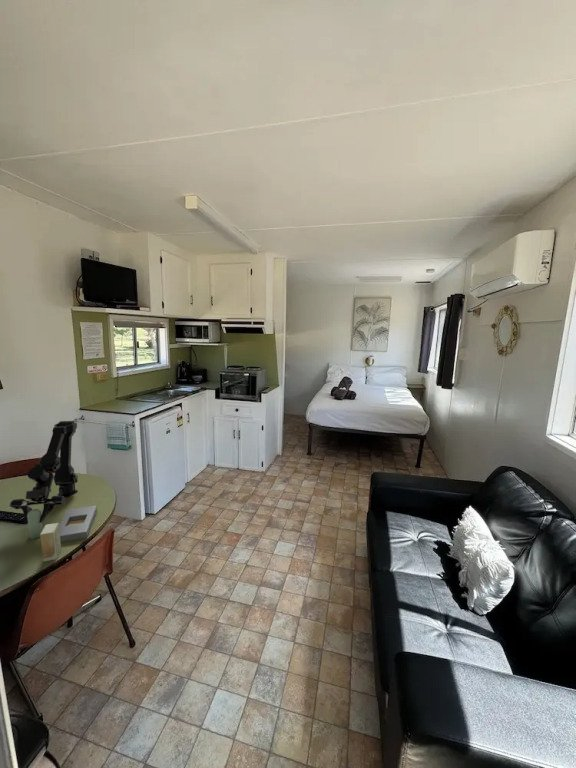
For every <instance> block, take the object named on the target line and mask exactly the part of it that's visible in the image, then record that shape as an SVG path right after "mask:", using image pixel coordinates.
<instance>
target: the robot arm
mask: <svg viewBox="0 0 576 768" xmlns="http://www.w3.org/2000/svg"><path fill="white" fill-rule="evenodd" d="M77 428H78V423H77V422H75V420H60V421H59V422H58V423H55V424H54V426H53V427H52V434H51V438H50V441H49V444H48V447H47V450H46V453H44V455H43V456H41V458H40V459H39V462H38V463H37V464H35V466H33V467H32V468H30V469H29V470H28V472H27V477H28V478H29V479H30V480H31V481H32V482H35V486H33V488H32V490H27V491H26V493H25V499H24V498H16V499H12V500H11V501H10V503H9V507H10V508H12V509H13V510H22V513H23V518H24V519H23V520H24V525H28V519H27V514H28V513H29V511H31V510H33V508H32V507H31V506H34V505H35V506H36V505H37V506H38V505H43V509H42V511H41V518H40V523H42V524H43V522H44V521H45V519H46V517H47V516H48V515H49V514H50V512H51V511H52V510H53V509H54V508H57V506H64V505H66V502H67V498H69V497H71V496H72V495H74V494H76V493H78V489H76V483H78V482H79V481H78V475H77V474H76V472H75V469H74V467H73V466H72V462H71V461H72V439H73V436H74V435H75V433H76V431H77ZM53 472H54V473H53ZM53 482H54V484H55V486H56V487H57V486H58V493H57V495H53V496H51V498H49V497H50V494H51V493H52V489H51V488H52V484H53Z"/></svg>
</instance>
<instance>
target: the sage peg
mask: <svg viewBox="0 0 576 768" xmlns="http://www.w3.org/2000/svg"><path fill="white" fill-rule="evenodd" d="M41 515H42V511H41V510H40V509H38V508H32V510H31V511H29V513H28V514H27V519H28V523H27V526H28V534H29V539H37V538H38V539H39V538H41V537H40V534H41V532H42V530H43V528H44V526H43V522H42V523H40V518H41Z"/></svg>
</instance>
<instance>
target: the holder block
mask: <svg viewBox="0 0 576 768" xmlns="http://www.w3.org/2000/svg"><path fill="white" fill-rule="evenodd" d="M97 512H98V506H97V505H91V506H85V507H84V506H83V507H78V508H70V509H66V511H65V513H64V515H63V518H61V521H60V523H59V533H60V543H65V542H69V541H77V540H81V539H88V536H89V534H90V531H91V529H92V526H93V523H94V520H95V518H96V516H97Z"/></svg>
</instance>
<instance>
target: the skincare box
mask: <svg viewBox="0 0 576 768" xmlns="http://www.w3.org/2000/svg"><path fill="white" fill-rule="evenodd" d="M59 525H60V523H59V522H55V523H49V524H45V525H44V526H43V530H42V532H41V534H40V537H39V538H40V545H41V552H42V553H41V554H42V562H43V563H44V562H49V561H56V560H57V559H58V556H59V554H60V552H61V551H62V550H61V549H62V542H60V533H59Z"/></svg>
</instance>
